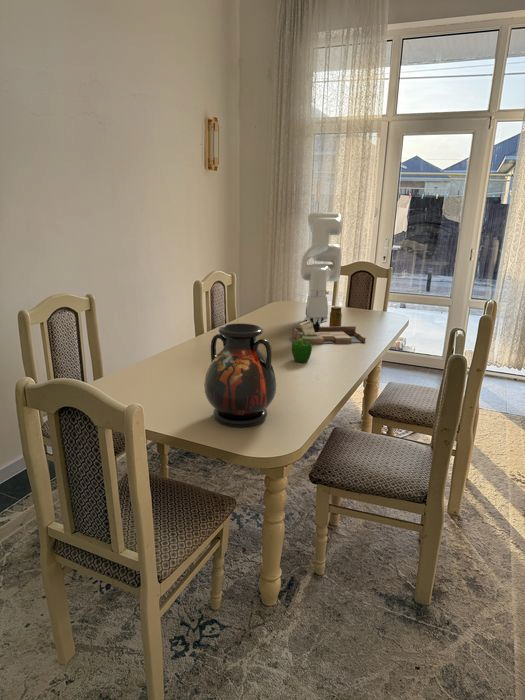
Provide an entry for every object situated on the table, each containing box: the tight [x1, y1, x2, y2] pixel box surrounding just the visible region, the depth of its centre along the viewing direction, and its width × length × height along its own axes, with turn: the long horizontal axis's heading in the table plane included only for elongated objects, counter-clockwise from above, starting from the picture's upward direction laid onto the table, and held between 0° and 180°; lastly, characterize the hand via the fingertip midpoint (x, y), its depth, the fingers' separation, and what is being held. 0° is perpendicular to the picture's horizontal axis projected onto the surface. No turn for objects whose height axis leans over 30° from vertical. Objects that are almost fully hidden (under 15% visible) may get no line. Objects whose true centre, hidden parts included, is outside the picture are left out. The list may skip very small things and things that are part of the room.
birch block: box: [299, 320, 315, 336], centre depth 237 cm, size 5×5×5 cm
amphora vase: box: [203, 323, 277, 428], centre depth 146 cm, size 22×22×28 cm
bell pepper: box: [291, 339, 313, 363], centre depth 204 cm, size 8×8×10 cm
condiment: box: [328, 306, 343, 327], centre depth 256 cm, size 7×8×12 cm
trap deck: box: [292, 325, 367, 345], centre depth 238 cm, size 15×32×4 cm, turn 100°
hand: (315, 331), depth 238 cm, fingers closed
